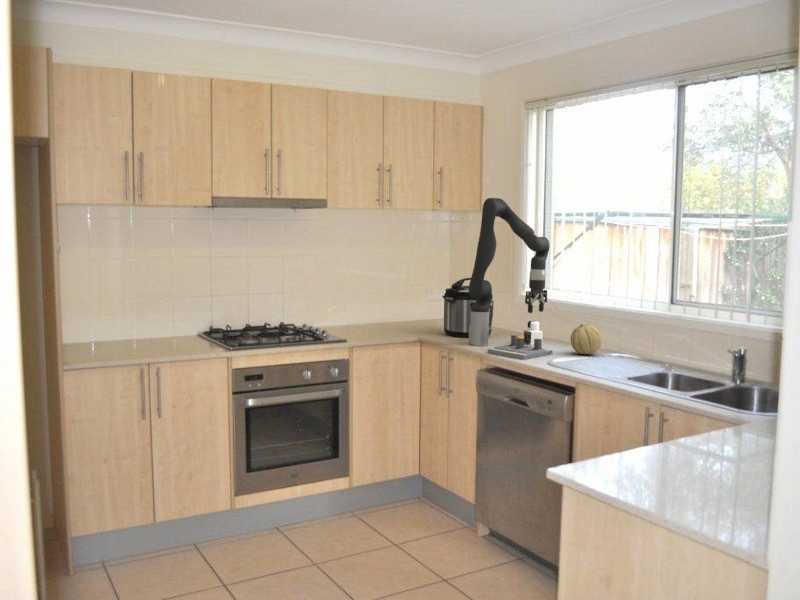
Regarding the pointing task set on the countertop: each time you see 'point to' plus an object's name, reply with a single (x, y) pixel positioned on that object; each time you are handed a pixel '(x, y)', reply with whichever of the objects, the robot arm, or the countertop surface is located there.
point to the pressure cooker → (460, 310)
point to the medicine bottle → (532, 332)
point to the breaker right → (537, 344)
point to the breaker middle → (520, 342)
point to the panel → (518, 352)
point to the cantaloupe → (586, 339)
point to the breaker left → (513, 340)
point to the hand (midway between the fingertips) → (535, 312)
